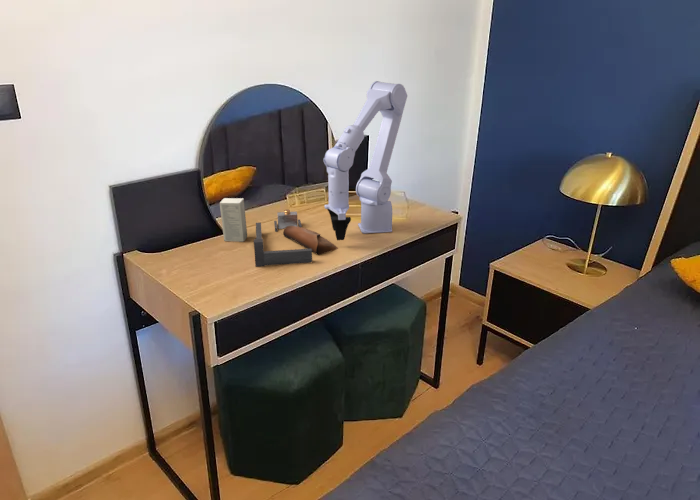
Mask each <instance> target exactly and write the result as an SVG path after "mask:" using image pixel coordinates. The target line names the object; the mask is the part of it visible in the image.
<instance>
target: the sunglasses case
mask: <svg viewBox="0 0 700 500" xmlns="http://www.w3.org/2000/svg"><path fill="white" fill-rule="evenodd" d="M282 233H283V234H282V235H283V236H284V237H285V238H288V239H289V240H292V241H295V243H298V244H300V245H301V246H303V247H304V248H305V249H312V253H314V254H316V255H318V256H321V255H323V254H326V253H330V252H332V251H335V250H338V249H339V248H338V247H337V245H336V244H334V243H332V242H331V241H330V240H328V239H327V238H325V237H323V236H322V235H321V234H320V233H318V232H317V231H315V230H311V229H308V228H306V227H299V226H298V227H297V226H287V227H286V228H283V232H282Z"/></svg>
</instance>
